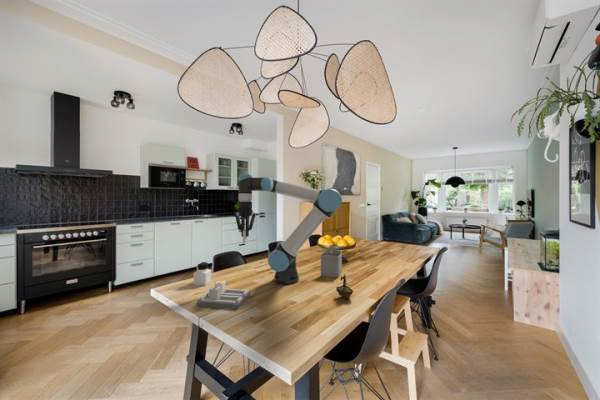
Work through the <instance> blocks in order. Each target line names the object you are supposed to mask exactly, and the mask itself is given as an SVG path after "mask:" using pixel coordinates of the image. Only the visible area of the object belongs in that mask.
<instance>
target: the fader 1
mask: <svg viewBox="0 0 600 400" xmlns="http://www.w3.org/2000/svg"><path fill="white" fill-rule="evenodd" d="M208 293H209V299H211V300H219V299H220V298H221V287H218V286H216V287H215V285H214V286H212V287H210V288H209V289H208Z"/></svg>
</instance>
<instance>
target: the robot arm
mask: <svg viewBox="0 0 600 400" xmlns="http://www.w3.org/2000/svg"><path fill="white" fill-rule="evenodd" d="M253 191H254V192H256V191H257V192H269V193H273V194H278V195H283V196H285V197H286V196H287V197H291V198H295V199H297V200H304V201H307V202H310V203H311V202H312V209H311V210H310V211H309V212H308V213H307V215H306V216H305V217H303V220H301V222H300V223H299V224H298V225H297V226H296V228H295V229H294V230H293V231H292V232H291V233H290V235H289V236H288V238H287V239H285V240H283V241H280V242H277V244H276V247H275V248H274V250H272V251H271V252H270V253H269V255H268V257H267V262H268V266H269V267H270V269H271V270H273V271H274V272H275V273H274V275H273V281H274V283H276V284H279V285H280V284H281V285H292V284H296V283H298V282H299V281H300V276H299V272H298V269H297V256H298V252H299V250H300V248H302V247H303V245H304V244H305V243H306V242H307V241H308V239H309V238H310V237H311V236H312V235H313V234H314V233H315V231H316V230H317V229H318V228H319V227H320V226H321V224H322V223H323V222H324V221H325V219H330V218H331V217H332V216H333V215H334V213H335V212H337V210H338V209H339V208H340V207H341V205H342V203H343V197H342V195H341V193H340V191H338V190H336V189H335V188H326V189H324V188H320V189H315V188H310V187H307V186H302V185H297V184H294V183H293V184H292V183H289V182H284V181H278V180H274V179H273V178H272V177H267V176H264V177H254V176H253V175H252V173H240V174H239V175H238V209H237V212H235V213H233V215H234V218H235V221H236V222H235V223H236V226H237V230H238V231H241V235H240V236H241V237H242V244H246V243H247V242H248V237H249V235H250V233H249V231H251V230H253V227H254V222H255V218H256V217H257V213H255V212H254V210H253V202H252V201H253ZM250 216H251V218H250Z"/></svg>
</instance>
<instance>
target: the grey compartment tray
mask: <svg viewBox="0 0 600 400" xmlns="http://www.w3.org/2000/svg"><path fill="white" fill-rule="evenodd" d="M250 296H251V291H250V290H249V289H234V288H233V289H232V288H226V291H225V292H224V293H221V298H220V299H219V300H211V299H209V292H207V293H205V294H203V295H201V296H200V297H199V300H197V301H196V307H201V308H215V309H227V310H239V309H240V308H242V306H243V305H244V303H245V302H246V301H247V300H248V299H249V298H250Z"/></svg>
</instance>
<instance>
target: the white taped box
mask: <svg viewBox="0 0 600 400" xmlns="http://www.w3.org/2000/svg"><path fill="white" fill-rule="evenodd" d="M226 282H227V281H226V280H217V281H216V282H214V287H216V286H218V287H221V293H224V292H225V291H226V289H227V288H226V284H227V283H226Z"/></svg>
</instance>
